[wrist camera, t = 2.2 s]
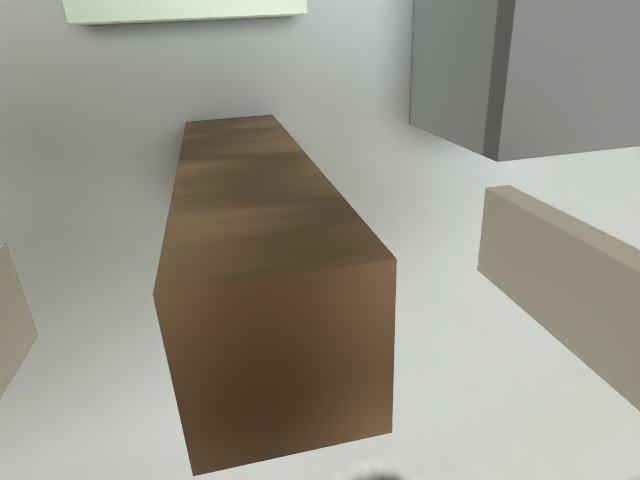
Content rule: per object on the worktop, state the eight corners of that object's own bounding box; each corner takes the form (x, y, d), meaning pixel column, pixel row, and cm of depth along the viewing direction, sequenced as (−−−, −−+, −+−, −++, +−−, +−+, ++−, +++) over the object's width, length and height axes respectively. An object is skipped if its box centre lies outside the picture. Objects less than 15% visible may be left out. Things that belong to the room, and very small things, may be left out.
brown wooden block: (199, 203, 23) (193, 476, 9) (186, 121, 21) (152, 294, 7) (279, 194, 24) (391, 432, 10) (272, 114, 22) (396, 258, 8)
